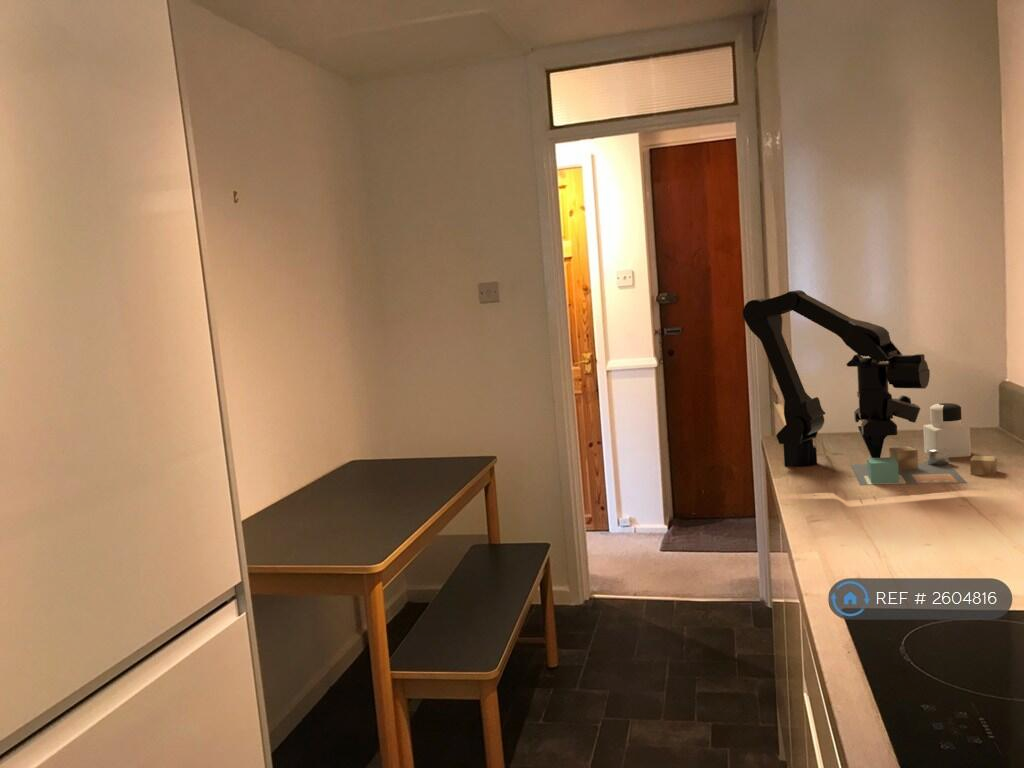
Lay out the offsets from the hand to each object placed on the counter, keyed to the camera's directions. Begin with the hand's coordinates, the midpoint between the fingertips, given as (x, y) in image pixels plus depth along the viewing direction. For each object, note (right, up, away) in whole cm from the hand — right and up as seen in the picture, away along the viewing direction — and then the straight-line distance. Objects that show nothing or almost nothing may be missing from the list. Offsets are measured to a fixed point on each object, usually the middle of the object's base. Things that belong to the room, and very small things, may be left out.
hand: (876, 461), depth 174 cm
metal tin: (+13, -1, +1) cm, 13 cm away
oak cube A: (+6, -1, 0) cm, 6 cm away
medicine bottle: (+20, 0, +9) cm, 22 cm away
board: (+4, -3, -4) cm, 6 cm away
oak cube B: (+16, 0, -8) cm, 18 cm away
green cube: (-2, -3, -8) cm, 8 cm away
